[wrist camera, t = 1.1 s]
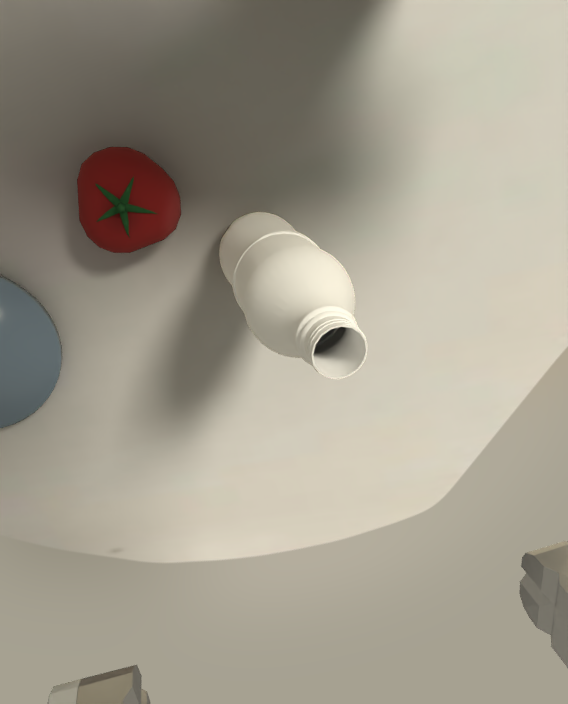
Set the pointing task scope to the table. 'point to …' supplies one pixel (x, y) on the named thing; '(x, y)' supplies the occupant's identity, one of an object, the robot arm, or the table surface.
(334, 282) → the water bottle
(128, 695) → the robot arm
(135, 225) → the tomato
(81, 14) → the table surface
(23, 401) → the candle dish
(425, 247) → the table surface
